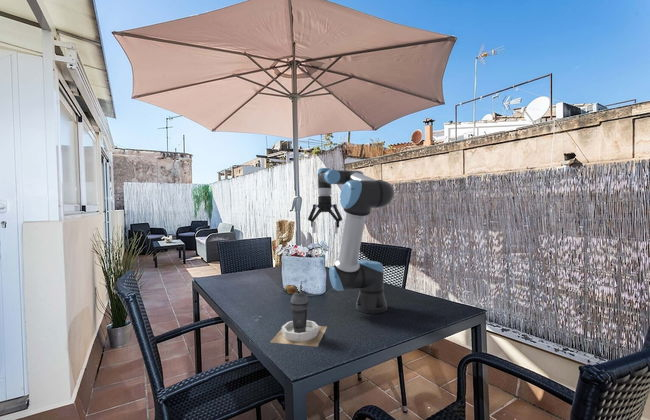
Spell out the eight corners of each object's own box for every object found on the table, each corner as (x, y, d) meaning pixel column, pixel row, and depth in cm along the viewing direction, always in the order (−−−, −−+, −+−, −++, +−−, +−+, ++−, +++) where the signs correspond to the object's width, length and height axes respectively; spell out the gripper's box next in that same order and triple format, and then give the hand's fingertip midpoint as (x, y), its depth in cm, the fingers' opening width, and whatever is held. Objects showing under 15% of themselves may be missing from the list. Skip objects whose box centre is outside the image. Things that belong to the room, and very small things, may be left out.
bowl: (322, 329, 125) (322, 322, 124) (308, 344, 112) (308, 336, 112) (292, 325, 130) (292, 318, 129) (276, 338, 117) (276, 330, 117)
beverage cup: (299, 326, 126) (299, 277, 125) (312, 330, 121) (312, 280, 121) (286, 332, 120) (285, 281, 120) (300, 337, 116) (299, 284, 115)
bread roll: (296, 301, 174) (302, 289, 173) (280, 293, 176) (286, 280, 175) (301, 296, 184) (306, 284, 183) (286, 288, 186) (291, 276, 185)
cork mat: (327, 328, 128) (327, 326, 128) (317, 348, 110) (317, 346, 110) (285, 324, 131) (285, 323, 131) (270, 343, 114) (270, 342, 114)
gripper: (347, 195, 174) (348, 233, 174) (307, 196, 183) (307, 232, 183) (343, 195, 167) (343, 234, 167) (301, 196, 176) (302, 233, 176)
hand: (325, 233), depth 175 cm, fingers open, 13 cm apart
